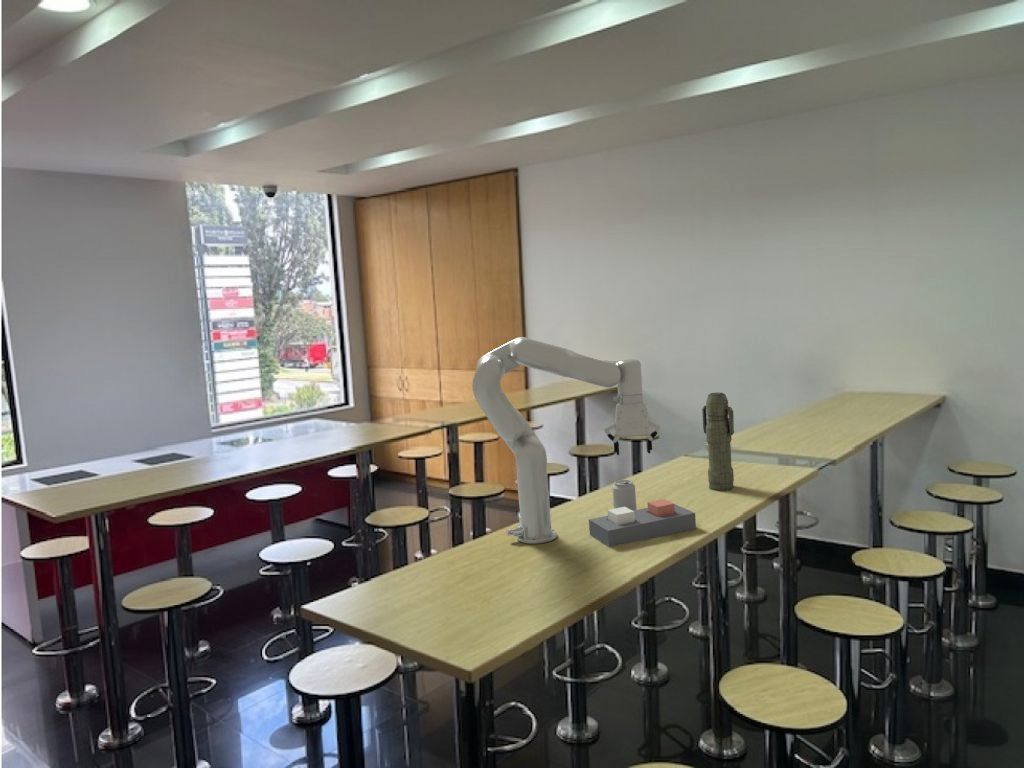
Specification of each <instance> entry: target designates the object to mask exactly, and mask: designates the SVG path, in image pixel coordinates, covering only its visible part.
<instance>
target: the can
mask: <svg viewBox="0 0 1024 768" xmlns="http://www.w3.org/2000/svg"><path fill="white" fill-rule="evenodd" d="M611 490H612V502H613V509H615V508H621V507H627V508H629V509H631V510H633V511H634V510H638V509H637V496H636V486H635V484H634V482H633V480H630V479H619V480H615V481H614V482H613V486H612V488H611Z"/></svg>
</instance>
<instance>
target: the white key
mask: <svg viewBox="0 0 1024 768" xmlns="http://www.w3.org/2000/svg"><path fill="white" fill-rule="evenodd" d="M607 516H608V521H610V522H612V523H614V524H615V525H621V524H626V523H631V522H635V513H634V511H633V510H631V509H629V508H627V507H621V508H615V509H614V508H611V509H607Z"/></svg>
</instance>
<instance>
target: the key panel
mask: <svg viewBox="0 0 1024 768" xmlns="http://www.w3.org/2000/svg"><path fill="white" fill-rule="evenodd" d="M674 506H675V514H670V515H665V516H660V517H656V516H654V515H652V514H650V513H648V507H645V508H640V509H637V510H634V513H635V522H631V523H626V524H621V525H615V524H614V523H612V522H610V521H608V515H604V516H599V517H593V518H589V519H588V526H589V527H588V528H589V536H591V537H592V538H594V539H596V540H597V541H599V542H600V543H602V544H603V545H605V546H606V547H608V548H611V547H616V546H621V545H626V544H630V543H635V542H640V541H645V540H649V539H654V538H659V537H664V536H668V535H672V534H677V533H682V532H683V533H684V532H688V531H691V530H695V529H697V524H696V520H697V519H696V512H695V511H691V510H689V509H686V508H685V507H683V506H680V505H678V504H676V503H674Z"/></svg>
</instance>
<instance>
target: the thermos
mask: <svg viewBox="0 0 1024 768" xmlns="http://www.w3.org/2000/svg"><path fill="white" fill-rule="evenodd" d="M705 403H706V404H705V405H704V406H703V408H702V411H701V413H702V414H701V415H702V427H703V428H702V429H703V434H705V436H706V439H705V440H706V443H707V452H708V468H707V476H708V477H707V480H708V485H709V486H708V488H709V489H710V490H711V491H716V492H717V491H718V492H724V491H731V490H734V488H735V486H734V482H735V481H734V480H735V479H734V478H735V477H734V468H733V466H732V452H731V450H732V449H731V448H732V447H731V446H732V445H731V442H732V440H733V439H732V436H733V434H735V428H734V427H735V426H734V425H735V423H734V419H735V418H734V417H735V416H734V410H733V408H732V407H731V406H729V400H728V398H727V395H726V393H723V392H711V393H709V394H708V395H707V398H706V402H705Z"/></svg>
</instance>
